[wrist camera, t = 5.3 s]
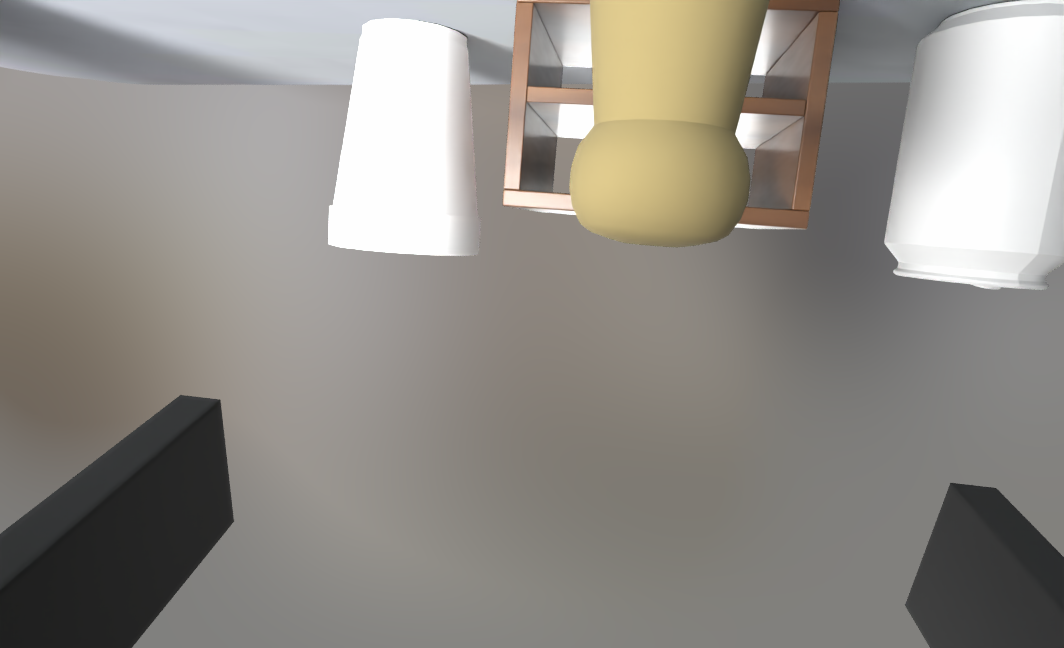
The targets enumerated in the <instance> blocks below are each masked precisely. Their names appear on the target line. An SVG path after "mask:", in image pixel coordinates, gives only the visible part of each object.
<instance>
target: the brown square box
mask: <svg viewBox="0 0 1064 648" xmlns="http://www.w3.org/2000/svg"><path fill="white" fill-rule="evenodd" d="M839 6H840V0H770V1H769V5H768V9H767V13H766V17H765V21H764V25H763V28H762V32H761V36H760V40H759V44H758V48H757V52H756V56H755V60H754V64H753V68H752V71H751V75H766V76H765V81H764V89H763V97H762V98H759V97H745V99H744V103H743V107H742V111H741V114H740V118H739V122H738V126H737V130H736V134H735V135H736V137H737V139H738V141H739V142H740V144H741V146H742V148H750V149H755V148H756V151H755V158H754V166H753V174H752V181H751V189H750V197H749V205H748V207H745V210H744V212H743V215H742V218H741V220H740V221H739V222H738V224H737V225H736V226H735V227H742V228H753V229H807V227H808V220H809V210H810V206H811V199H812V192H813V185H814V178H815V172H816V165H817V157H818V151H819V144H820V137H821V130H822V123H823V116H824V109H825V102H826V95H827V89H828V82H829V75H830V68H831V61H832V54H833V47H834V40H835V33H836V27H837V20H838V11H839ZM563 66H567V67H589V68H592V50H591V20H590V0H517V4H516V18H515V32H514V47H513V61H512V75H511V90H510V91H511V92H510V104H509V119H508V134H507V147H506V162H505V175H504V176H505V177H504V192H503V206H507V207H513V208H519V209H525V210H531V211H537V212H548V213H560V214H572V215H573V214H574V215H576V214H575V212H574V209H573V207H572V202H571V196H570V194H566V193H553V181H554V170H555V158H556V145H557V137H567V138H583V139H584V138H585V136H586V135H587V134H588V132H589V131H590V130H591V129H592V127H593V126H594V111H593V89H574V88H561V84H562V72H563Z"/></svg>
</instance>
